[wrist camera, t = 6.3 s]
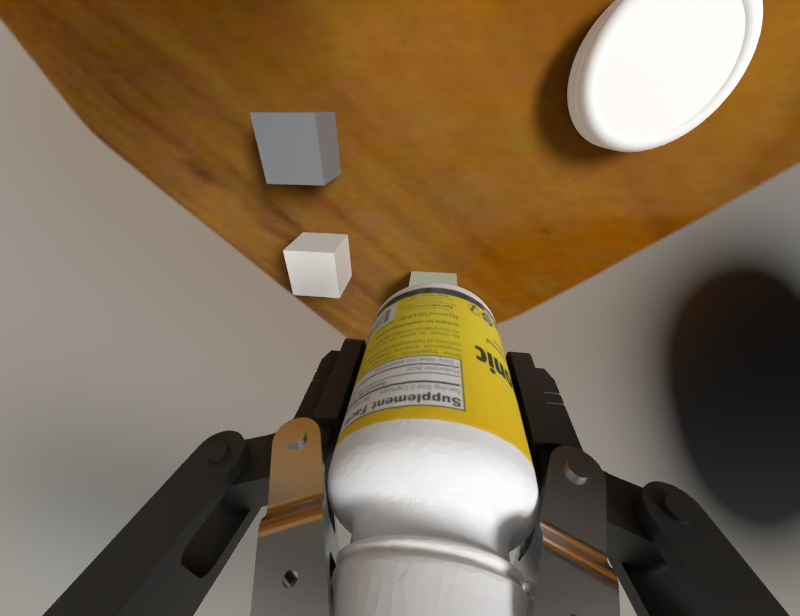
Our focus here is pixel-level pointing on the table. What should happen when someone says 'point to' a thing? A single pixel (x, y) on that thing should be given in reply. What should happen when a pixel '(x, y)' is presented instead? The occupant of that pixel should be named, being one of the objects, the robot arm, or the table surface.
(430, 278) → the sage block
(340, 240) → the pale grey block
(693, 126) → the coaster
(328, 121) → the medium grey block
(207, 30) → the table surface
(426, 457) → the supplement bottle
